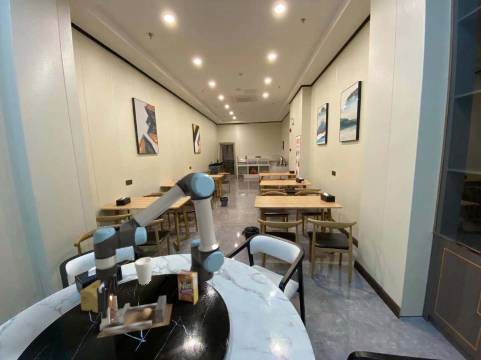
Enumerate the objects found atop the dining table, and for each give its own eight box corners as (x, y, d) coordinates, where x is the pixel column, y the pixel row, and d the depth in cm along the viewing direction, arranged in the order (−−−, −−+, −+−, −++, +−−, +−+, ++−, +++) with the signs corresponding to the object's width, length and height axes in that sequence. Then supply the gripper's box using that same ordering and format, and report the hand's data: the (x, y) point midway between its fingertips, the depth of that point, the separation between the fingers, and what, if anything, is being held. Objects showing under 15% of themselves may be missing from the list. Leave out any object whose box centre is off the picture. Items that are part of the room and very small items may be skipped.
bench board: (172, 306, 96) (171, 291, 96) (169, 327, 84) (168, 311, 83) (110, 317, 91) (109, 301, 90) (97, 341, 78) (95, 323, 77)
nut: (152, 313, 90) (152, 305, 90) (151, 320, 86) (150, 311, 86) (143, 315, 89) (143, 306, 89) (141, 321, 85) (140, 313, 85)
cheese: (98, 313, 93) (96, 293, 92) (79, 310, 95) (78, 290, 94) (116, 298, 103) (115, 280, 102) (99, 296, 105) (97, 278, 105)
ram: (130, 313, 90) (128, 287, 89) (124, 327, 82) (122, 299, 81) (108, 317, 88) (106, 290, 87) (99, 331, 80) (97, 302, 79)
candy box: (178, 302, 99) (177, 273, 98) (183, 297, 103) (182, 268, 102) (194, 305, 97) (192, 275, 95) (198, 300, 101) (197, 271, 100)
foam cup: (133, 282, 117) (132, 261, 116) (149, 275, 124) (148, 255, 123) (140, 288, 111) (139, 266, 110) (156, 281, 118) (155, 260, 117)
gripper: (106, 255, 92) (110, 303, 93) (82, 279, 72) (87, 338, 74) (124, 254, 93) (127, 300, 95) (105, 276, 74) (110, 334, 76)
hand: (110, 317), depth 84 cm, fingers open, 7 cm apart
